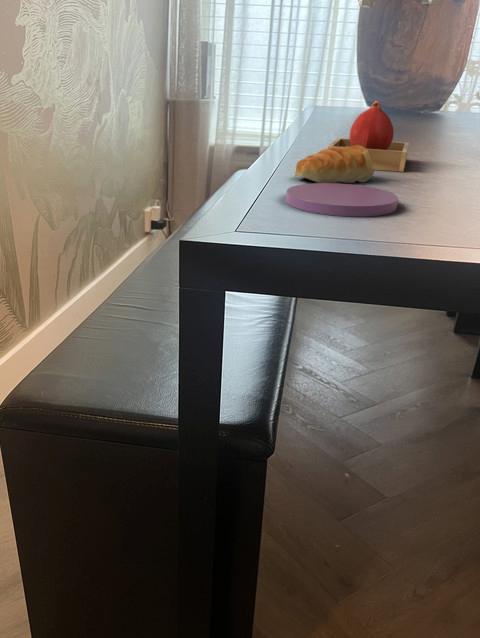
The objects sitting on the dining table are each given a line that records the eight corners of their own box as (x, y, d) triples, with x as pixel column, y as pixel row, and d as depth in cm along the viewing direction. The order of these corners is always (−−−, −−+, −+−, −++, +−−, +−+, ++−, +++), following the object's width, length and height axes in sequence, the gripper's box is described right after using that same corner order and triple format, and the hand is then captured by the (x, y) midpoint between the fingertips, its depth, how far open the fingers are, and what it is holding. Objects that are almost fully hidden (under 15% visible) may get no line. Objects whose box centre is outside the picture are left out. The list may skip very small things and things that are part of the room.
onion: (339, 160, 87) (347, 99, 83) (377, 159, 88) (386, 99, 84) (356, 167, 82) (365, 102, 78) (395, 166, 83) (406, 103, 79)
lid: (370, 192, 67) (372, 182, 66) (416, 216, 57) (418, 205, 57) (273, 192, 65) (274, 183, 65) (303, 217, 56) (305, 206, 55)
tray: (335, 155, 91) (337, 137, 89) (405, 161, 88) (409, 142, 87) (325, 165, 82) (327, 146, 81) (403, 172, 79) (406, 151, 78)
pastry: (318, 187, 68) (321, 152, 66) (280, 178, 73) (283, 144, 72) (377, 181, 73) (382, 147, 71) (338, 172, 78) (342, 141, 76)
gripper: (517, -141, 67) (486, 5, 73) (363, -112, 80) (349, 9, 87) (489, -154, 63) (459, 1, 70) (333, -121, 77) (320, 6, 83)
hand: (397, 6), depth 78 cm, fingers open, 8 cm apart
